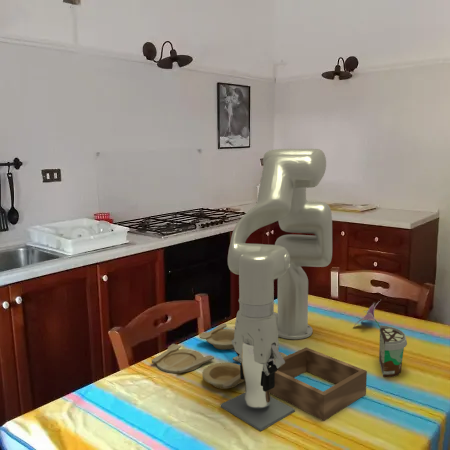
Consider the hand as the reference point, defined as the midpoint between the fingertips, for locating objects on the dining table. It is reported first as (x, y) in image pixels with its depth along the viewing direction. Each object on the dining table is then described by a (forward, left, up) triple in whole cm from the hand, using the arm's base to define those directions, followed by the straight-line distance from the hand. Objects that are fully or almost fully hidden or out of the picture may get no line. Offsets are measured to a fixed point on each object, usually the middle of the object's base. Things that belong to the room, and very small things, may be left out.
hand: (257, 382), depth 108 cm
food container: (+11, +40, -7) cm, 42 cm away
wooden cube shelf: (+4, +15, -6) cm, 17 cm away
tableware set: (-23, +10, -7) cm, 26 cm away
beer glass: (0, 0, -5) cm, 5 cm away
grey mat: (0, 0, -6) cm, 6 cm away
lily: (-10, +61, -7) cm, 62 cm away
